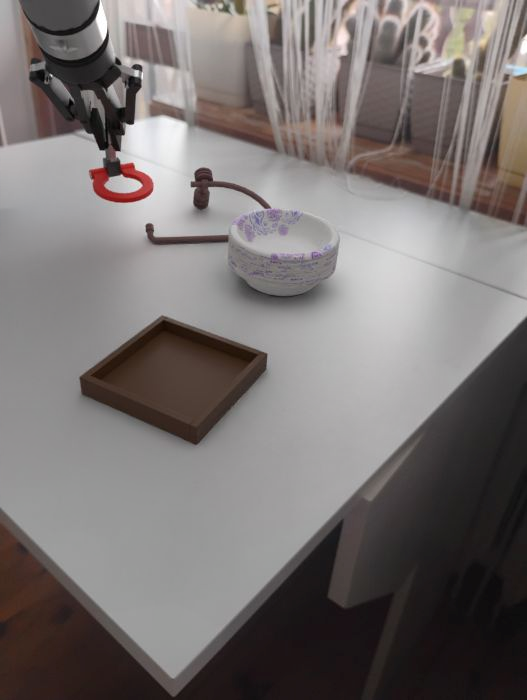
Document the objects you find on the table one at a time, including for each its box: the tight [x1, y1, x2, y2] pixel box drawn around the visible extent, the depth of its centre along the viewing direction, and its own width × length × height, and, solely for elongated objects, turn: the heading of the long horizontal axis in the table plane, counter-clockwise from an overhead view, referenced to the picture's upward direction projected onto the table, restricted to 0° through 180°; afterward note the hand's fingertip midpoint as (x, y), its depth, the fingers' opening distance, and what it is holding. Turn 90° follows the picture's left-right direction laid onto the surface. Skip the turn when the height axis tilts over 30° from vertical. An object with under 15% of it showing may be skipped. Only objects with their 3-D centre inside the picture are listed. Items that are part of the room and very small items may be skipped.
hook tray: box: [79, 314, 268, 445], centre depth 69 cm, size 15×15×2 cm
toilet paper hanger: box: [144, 167, 272, 245], centre depth 103 cm, size 22×8×14 cm
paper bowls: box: [227, 207, 341, 297], centre depth 87 cm, size 15×15×8 cm
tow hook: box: [88, 106, 155, 204], centre depth 85 cm, size 8×13×9 cm
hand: (110, 141), depth 89 cm, fingers closed on tow hook, 1 cm apart
